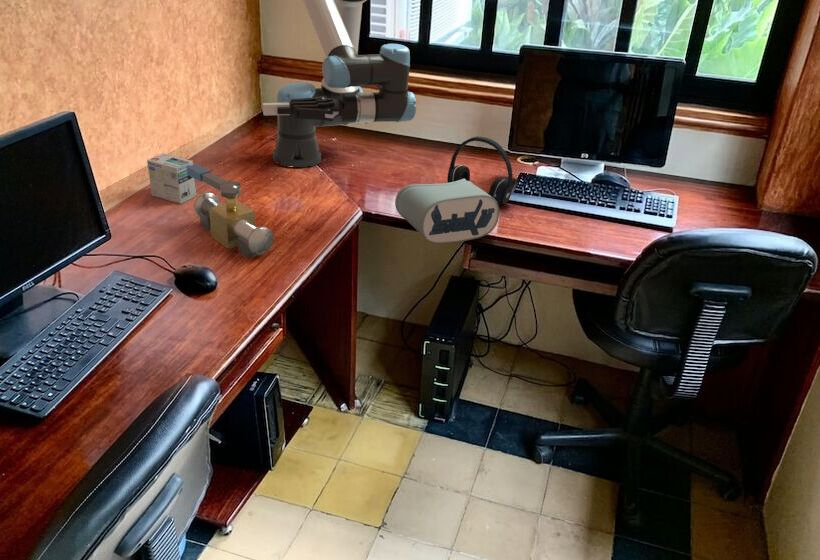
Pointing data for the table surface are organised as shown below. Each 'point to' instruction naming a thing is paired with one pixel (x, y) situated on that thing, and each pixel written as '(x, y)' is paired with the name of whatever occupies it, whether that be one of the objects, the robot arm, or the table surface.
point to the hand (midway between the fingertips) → (263, 109)
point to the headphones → (499, 187)
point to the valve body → (233, 225)
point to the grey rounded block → (448, 210)
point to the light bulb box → (171, 178)
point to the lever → (214, 181)
